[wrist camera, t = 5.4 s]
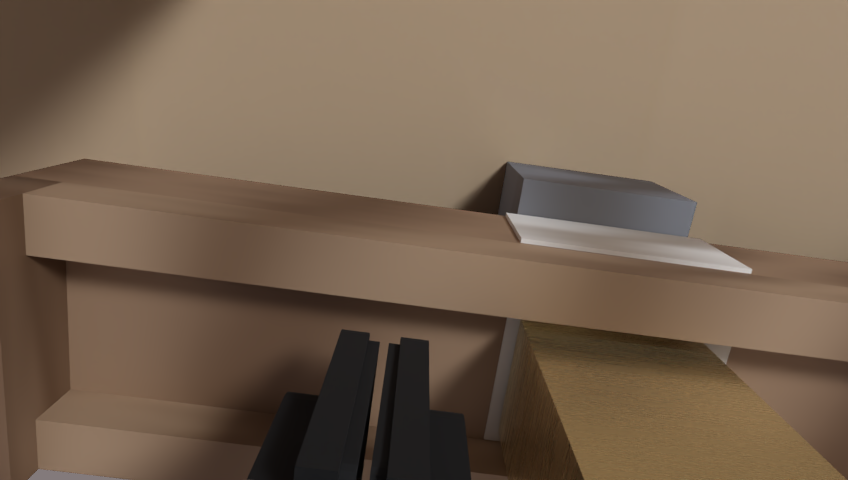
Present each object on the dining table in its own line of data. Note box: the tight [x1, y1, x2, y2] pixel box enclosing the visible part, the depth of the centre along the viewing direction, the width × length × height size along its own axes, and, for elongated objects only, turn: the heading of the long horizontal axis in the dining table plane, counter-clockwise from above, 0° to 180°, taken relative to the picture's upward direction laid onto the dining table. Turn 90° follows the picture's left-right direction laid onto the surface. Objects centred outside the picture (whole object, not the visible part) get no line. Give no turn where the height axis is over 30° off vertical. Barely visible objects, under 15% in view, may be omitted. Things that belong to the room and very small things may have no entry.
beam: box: [0, 159, 848, 480], centre depth 14 cm, size 26×8×8 cm, turn 82°
